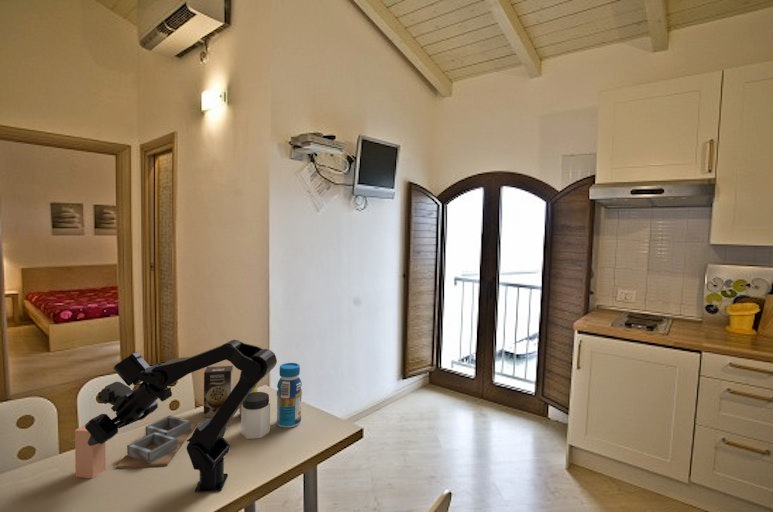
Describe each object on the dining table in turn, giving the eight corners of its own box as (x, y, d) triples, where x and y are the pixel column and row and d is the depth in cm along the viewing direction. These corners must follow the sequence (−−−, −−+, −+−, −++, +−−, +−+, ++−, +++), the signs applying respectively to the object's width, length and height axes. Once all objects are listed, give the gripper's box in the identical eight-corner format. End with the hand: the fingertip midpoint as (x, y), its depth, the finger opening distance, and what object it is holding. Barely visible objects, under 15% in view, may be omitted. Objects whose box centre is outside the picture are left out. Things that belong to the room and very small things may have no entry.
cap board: (167, 465, 108) (167, 453, 108) (116, 468, 106) (116, 455, 106) (197, 424, 132) (197, 413, 132) (155, 425, 130) (155, 415, 130)
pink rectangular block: (105, 469, 106) (105, 424, 105) (93, 478, 102) (92, 431, 101) (88, 467, 106) (88, 422, 106) (75, 476, 102) (74, 430, 102)
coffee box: (202, 417, 137) (203, 372, 136) (206, 409, 143) (206, 366, 142) (230, 415, 139) (231, 370, 138) (232, 407, 145) (233, 364, 144)
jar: (273, 434, 126) (273, 398, 126) (248, 442, 121) (248, 404, 121) (262, 423, 133) (262, 389, 133) (238, 430, 128) (238, 395, 128)
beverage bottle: (272, 421, 135) (272, 364, 134) (294, 414, 140) (294, 360, 140) (283, 431, 129) (284, 371, 128) (306, 423, 134) (307, 366, 133)
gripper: (148, 363, 111) (112, 398, 113) (91, 388, 92) (50, 429, 94) (174, 392, 111) (137, 427, 112) (122, 423, 92) (80, 464, 94)
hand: (104, 435), depth 103 cm, fingers open, 9 cm apart
